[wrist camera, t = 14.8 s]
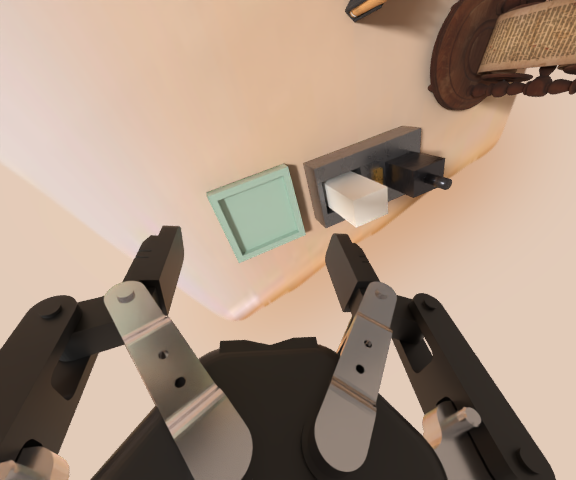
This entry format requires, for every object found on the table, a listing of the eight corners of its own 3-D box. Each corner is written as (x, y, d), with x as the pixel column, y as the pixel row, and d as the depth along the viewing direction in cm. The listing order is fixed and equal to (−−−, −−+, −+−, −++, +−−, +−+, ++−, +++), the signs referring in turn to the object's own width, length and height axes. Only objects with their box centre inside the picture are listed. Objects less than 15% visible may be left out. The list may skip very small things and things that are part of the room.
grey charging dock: (303, 163, 38) (348, 187, 27) (402, 125, 40) (479, 134, 30) (315, 218, 43) (357, 256, 32) (401, 182, 46) (466, 206, 35)
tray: (206, 192, 35) (207, 196, 33) (283, 163, 37) (288, 166, 35) (237, 256, 41) (239, 263, 40) (301, 229, 43) (305, 234, 42)
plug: (318, 179, 39) (352, 200, 30) (346, 169, 39) (387, 186, 31) (322, 202, 41) (356, 227, 33) (348, 191, 42) (388, 213, 33)
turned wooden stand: (444, -23, 32) (711, -153, 16) (516, 3, 37) (778, -77, 21) (410, 105, 39) (570, 107, 23) (474, 113, 44) (645, 119, 27)
